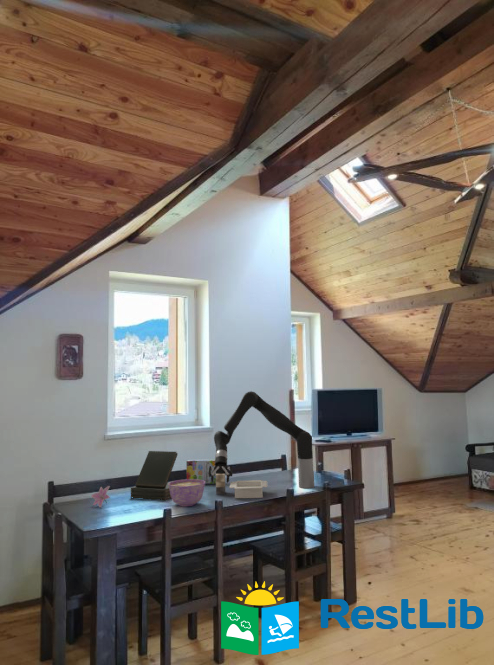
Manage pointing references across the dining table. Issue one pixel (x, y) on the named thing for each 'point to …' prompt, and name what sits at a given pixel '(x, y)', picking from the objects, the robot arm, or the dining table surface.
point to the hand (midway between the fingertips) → (220, 481)
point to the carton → (248, 488)
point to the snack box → (200, 470)
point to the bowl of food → (186, 491)
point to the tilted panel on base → (155, 476)
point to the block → (220, 483)
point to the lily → (100, 496)
